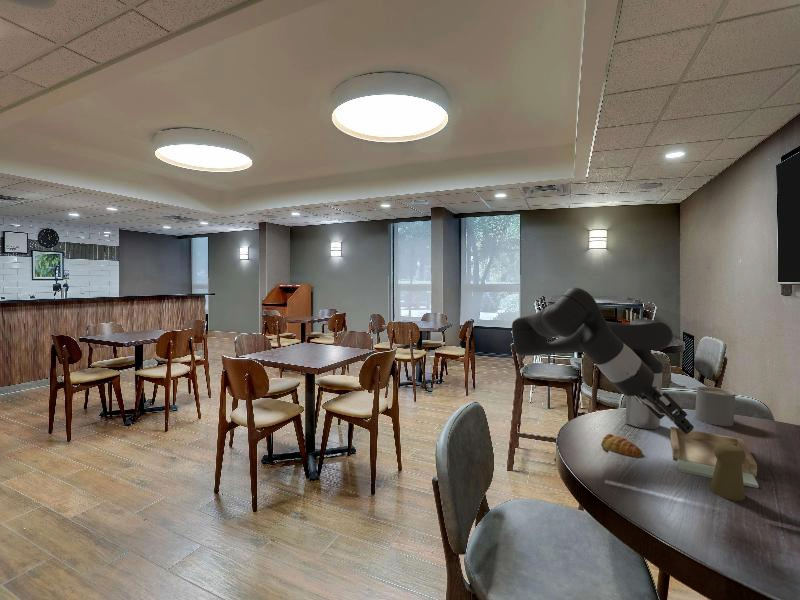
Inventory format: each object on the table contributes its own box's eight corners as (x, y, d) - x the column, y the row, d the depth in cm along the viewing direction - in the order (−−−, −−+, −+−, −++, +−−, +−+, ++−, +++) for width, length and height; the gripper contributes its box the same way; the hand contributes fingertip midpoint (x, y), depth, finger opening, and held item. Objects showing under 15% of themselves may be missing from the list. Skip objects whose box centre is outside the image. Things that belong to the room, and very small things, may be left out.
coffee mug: (735, 428, 127) (737, 396, 126) (695, 421, 132) (697, 391, 132) (730, 416, 138) (732, 387, 137) (694, 410, 143) (695, 382, 143)
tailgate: (677, 463, 102) (678, 473, 96) (677, 458, 101) (678, 468, 96) (752, 479, 94) (758, 490, 89) (752, 474, 94) (758, 485, 89)
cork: (701, 489, 89) (704, 440, 89) (727, 488, 90) (730, 439, 89) (726, 504, 83) (729, 452, 83) (753, 503, 84) (756, 451, 83)
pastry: (647, 456, 106) (647, 442, 106) (634, 463, 102) (634, 448, 102) (611, 444, 114) (611, 430, 114) (597, 449, 110) (598, 436, 110)
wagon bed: (673, 462, 102) (673, 448, 102) (670, 438, 118) (670, 426, 118) (756, 479, 94) (757, 464, 94) (741, 451, 110) (742, 438, 109)
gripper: (594, 372, 93) (643, 423, 93) (628, 389, 79) (684, 449, 79) (619, 349, 93) (667, 400, 93) (657, 363, 78) (714, 423, 79)
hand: (675, 423), depth 86 cm, fingers open, 8 cm apart
